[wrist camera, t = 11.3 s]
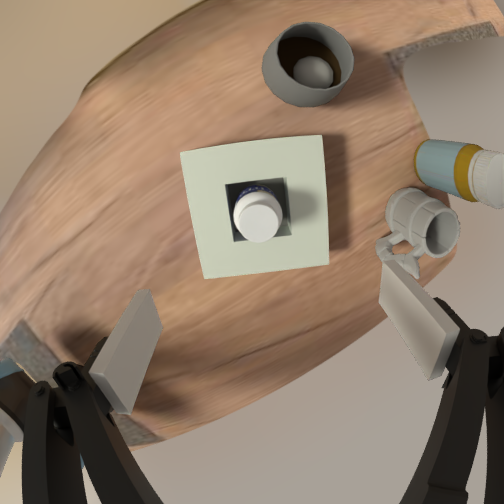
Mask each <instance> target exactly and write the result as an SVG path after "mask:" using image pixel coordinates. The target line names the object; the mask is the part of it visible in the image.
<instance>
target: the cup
mask: <svg viewBox="0 0 504 504" xmlns="http://www.w3.org/2000/svg"><path fill="white" fill-rule="evenodd" d="M353 69H354V55H353V52H352V49H351V46H350V45H349V43H348V42H347V41H346V39H345V38H344V37H343V36H342V35H341V34H340V33H338V32H337V31H336V30H334V29H333V28H331V27H329V26H326V25H324V24H321V23H315V22H302V23H298V24H294V25H292V26H290V27H289V28H287V29H286V30H284V31H283V32H282V33H281V34H280V35H279V36H278V37H277V38H276V39H275V40H274V41H273V42H272V43H271V44H270V46H269V47H268V49H267V51H266V52H265V54H264V56H263V62H262V72H263V76H264V80H265V83H266V84H267V86H268V87H269V88H270V90H271V91H272V93H273V94H274V95H276V96H277V97H279V98H280V99H281V100H283V101H284V102H286V103H289V104H292V105H295V106H298V107H316V106H319V105H322V104H326V103H328V102H329V101H330V100H332V99H333V98H334V97H335V96H337V95H338V94H339V92H340V91H341V89H342V88H343V86H344V85H345V84H346V82H347V81H348V79H349V77H350V75H351V74H352V72H353Z"/></svg>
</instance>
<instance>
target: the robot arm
mask: <svg viewBox="0 0 504 504" xmlns="http://www.w3.org/2000/svg"><path fill="white" fill-rule="evenodd" d="M379 304H380V305H381V307H382V308H383V310H384V311H385V312H386V314H387V315H388V317H389V318H390V320H391V321H392V323H393V324H394V326H395V328H396V329H397V331H398V332H399V334H400V335H401V337H402V338H403V340H404V341H405V343H406V344H407V346H408V348H409V350H410V351H411V353H412V354H413V356H414V358H415V359H416V360H417V363H418V364H419V366H420V367H421V369H422V371H423V373H424V374H425V376H426V378H427V379H428V380H432V379H434V378H437V377H440V376H441V375H442V373H443V371H444V369H445V367H446V368H447V369H448V371H449V374H448V376H447V378H446V380H445V382H444V384H443V386H442V388H444V391H443V395H442V398H441V403H440V406H439V409H438V412H437V416H436V419H435V422H434V425H433V428H432V431H431V434H430V437H429V440H428V442H427V445H426V448H425V450H424V453H423V455H422V457H421V460H420V462H419V465H418V467H417V469H416V472H415V474H414V476H413V478H412V480H411V482H410V484H409V486H408V488H407V490H406V492H405V494H404V496H403V498H402V500H401V502H400V503H399V504H467V500H468V492H466V490H465V488H466V484H467V481H468V478H469V475H470V471H471V468H472V464H473V461H474V457H475V453H476V450H477V445H478V441H479V436H480V432H481V426H482V421H483V415H484V408H485V411H486V425H487V476H486V489H485V498H484V504H504V327H503V328H502V329H501V332H500V334H499V336H491V337H488V336H487V335H486V333H484V332H483V331H481V330H478V329H470V328H469V327H468V326H467V325H466V324H465V323H464V322H463V320H462V319H461V318H460V317H459V316H458V315H457V314H455V312H454V311H453V310H452V309H451V307H450V306H448V304H447V303H446V302H445V301H443V300H441V299H439V298H438V297H436V298H432V297H431V296H430V295H429V294H428V293H427V292H426V291H425V290H424V289H423V288H422V287H421V286H420V285H419V284H418V282H417V281H416V280H415V279H414V278H413V277H412V276H411V275H410V274H409V273H408V272H407V271H406V270H405V269H404V268H403V267H402V266H401V265H400V264H399V263H397V262H396V261H395V260H387V261H383V265H382V276H381V286H380V295H379ZM162 329H163V326H162V323H161V321H160V318H159V315H158V312H157V309H156V307H155V304H154V301H153V298H152V295H151V292H150V289H144V290H138V291H137V292H136V294H135V295H134V297H133V298H132V300H131V302H130V303H129V305H128V306H127V308H126V309H125V311H124V313H123V314H122V316H121V317H120V319H119V321H118V322H117V324H116V326H115V327H114V329H113V331H112V332H111V334H110V336H109V337H104V338H103V339H102V340H101V341H100V342H99V343H98V344H97V345H96V347H95V349H94V352H92V354H91V355H90V357H89V359H88V360H87V362H86V364H85V366H84V367H82V366H79V365H76V364H75V363H74V362H65V363H62V364H61V365H59V366H58V367H57V368H56V369H55V370H54V372H53V379H54V380H55V381H56V383H57V384H58V387H57V388H52V387H51V386H50V385H49V383H48V382H46V381H40V382H37V383H35V382H34V381H33V380H32V379H31V378H30V377H29V376H28V375H27V374H26V373H25V372H24V370H23V369H21V368H20V367H19V366H18V365H17V364H16V363H15V362H14V361H13V360H12V359H10V358H4V359H3V360H1V361H0V477H1V474H2V471H3V469H4V466H5V464H6V461H7V458H8V456H9V454H10V451H11V449H12V447H13V444H14V442H22V441H23V449H22V497H23V504H87V499H86V493H85V488H84V481H83V474H82V469H83V467H84V465H85V467H86V470H87V472H88V474H89V477H90V479H91V481H92V484H93V486H94V488H95V491H96V492H97V495H98V497H99V499H100V501H101V503H102V504H163V502H162V501H161V499H160V498H159V497H158V495H157V494H156V492H155V491H154V490H153V488H152V486H151V485H150V483H149V482H148V480H147V479H146V477H145V475H144V474H143V472H142V471H141V469H140V467H139V466H138V464H137V462H136V461H135V459H134V457H133V456H132V454H131V452H130V450H129V448H128V447H127V445H126V443H125V441H124V439H123V437H122V435H121V433H120V431H119V429H118V427H117V425H116V423H115V421H114V419H113V417H112V415H111V414H110V412H112V411H113V410H115V411H116V413H121V414H129V415H131V413H132V410H133V407H134V404H135V401H136V398H137V395H138V393H139V390H140V387H141V384H142V382H143V379H144V376H145V373H146V371H147V368H148V365H149V363H150V360H151V357H152V355H153V352H154V350H155V347H156V344H157V342H158V339H159V337H160V334H161V332H162Z"/></svg>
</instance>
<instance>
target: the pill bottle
mask: <svg viewBox="0 0 504 504" xmlns="http://www.w3.org/2000/svg"><path fill="white" fill-rule="evenodd" d="M234 222H235V225H236V227H237V229H238V230H239V231H240V232H241V234H242V235H243V236H244V237H245V238H246V239H247V240H249V241H251V242H256V243H262V242H266V241H268V240H270V239H271V238H272V237H273V236H274V235H275V234H276V232H277V230H278V229H279V227H280V225H281V222H282V209H281V206H280V204H279V202H278V200H277V198H276V196H275V194H274V192H273V191H272V190H271V189H270V188H268V187H266V186H264V185H260V184H253V185H249V186H247V187H245V188H244V189H243V190H242V191H241V192H240V193H239V195H238V197H237V200H236V204H235V208H234Z"/></svg>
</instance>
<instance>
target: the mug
mask: <svg viewBox="0 0 504 504" xmlns="http://www.w3.org/2000/svg"><path fill="white" fill-rule="evenodd" d="M385 214H386V215H385V218H386V222H387V224H388V226H389V228H390V230H391V231H392V232H393V233H392V234H390V235H389V236H387V237H384V238H380V239H377V240H376V246H375V249H376V253H377V255H378V257H379V258H380V260H381V261H382V262H383V261H387V260H395V261H396V262H397V263H399V264H400V265H401V266H402V267H403V268H404V269H405V270H406V271H407V272H408V273H410V274H412V275H413V276H414V277H415V278H416V279H419V277H420V273H419V268H420V267H419V263H418V261H417V260H418V259H419V258H420V257H421V256H422V255H423V254H424V253H426V254H427V255H429V256H431V257H435V258H441V257H444V256H445V255H447V254H448V253H449V252H451V250H452V249H453V247H454V246H455V245H456V243H457V241H458V238H459V235H460V230H459V229H460V222H459V221H458V217H457V215H456V213H455V212H454V211H453V210H452V209H450V208H449V207H447V206H445V204H444V203H442V202H441V201H440V200H438V199H435V198H431V197H428V196H427V195H426V194H425V193H424V192H423V191H421V190H419V189H417V188H411V187H410V188H402V189H399V190H397V191H396V192H395V193H394V194H392V196H391V197H390V198H389V201H388V203H387V206H386V210H385ZM402 240H407V241H408V242H409V243H410V244H411V245H412V246H413V247H414V249H413V250H412V251H411V252H409V253H408V254H396V255H394V253H392V246H393V245H395V244H397V243H399V242H401V241H402Z"/></svg>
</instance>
